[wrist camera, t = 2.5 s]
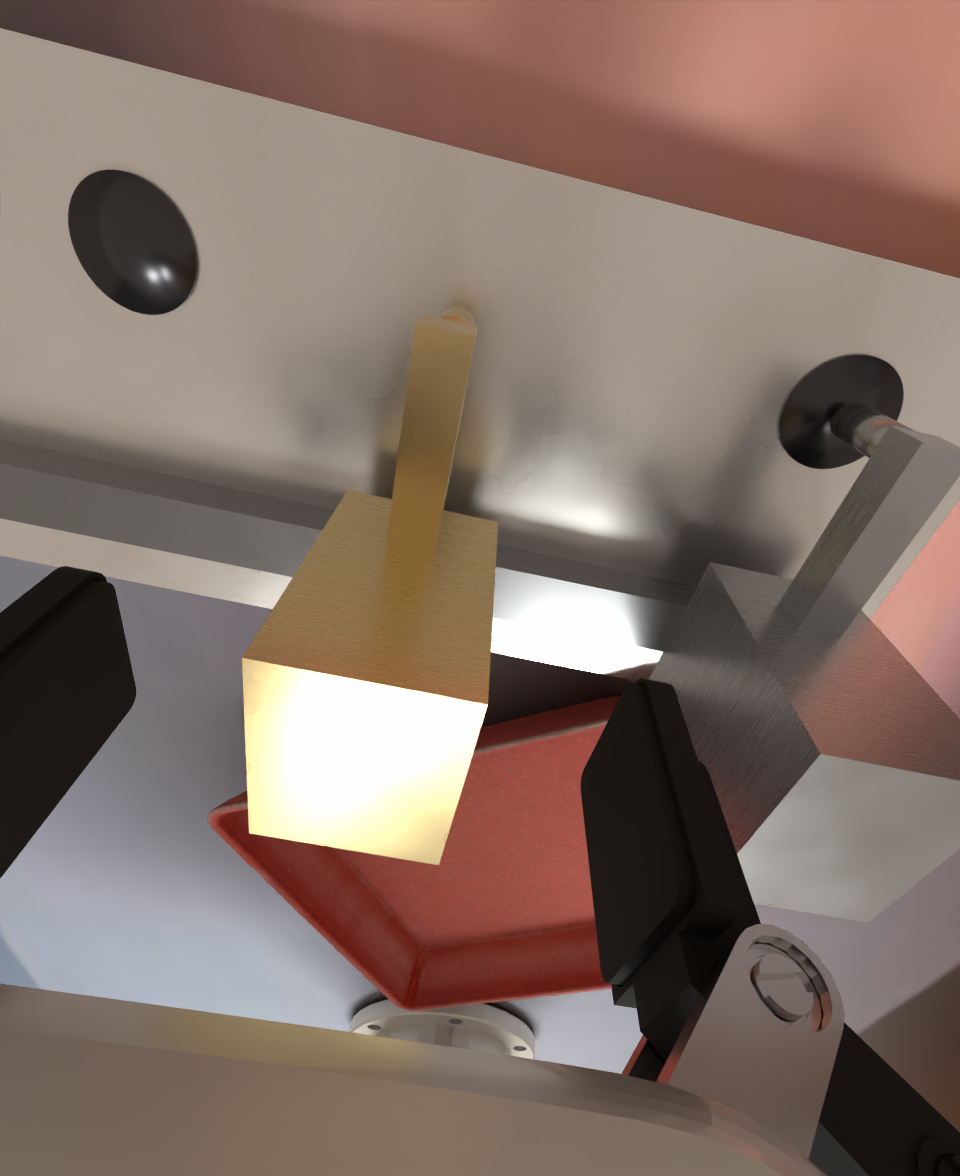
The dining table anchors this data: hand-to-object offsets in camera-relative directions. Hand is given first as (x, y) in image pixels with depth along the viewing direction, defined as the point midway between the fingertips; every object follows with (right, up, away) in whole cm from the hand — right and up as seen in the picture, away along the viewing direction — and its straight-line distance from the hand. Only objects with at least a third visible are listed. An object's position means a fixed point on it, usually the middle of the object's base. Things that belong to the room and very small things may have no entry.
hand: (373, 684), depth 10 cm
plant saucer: (+3, -9, +16) cm, 18 cm away
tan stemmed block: (+1, +4, +4) cm, 6 cm away
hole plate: (+1, +6, +5) cm, 8 cm away
